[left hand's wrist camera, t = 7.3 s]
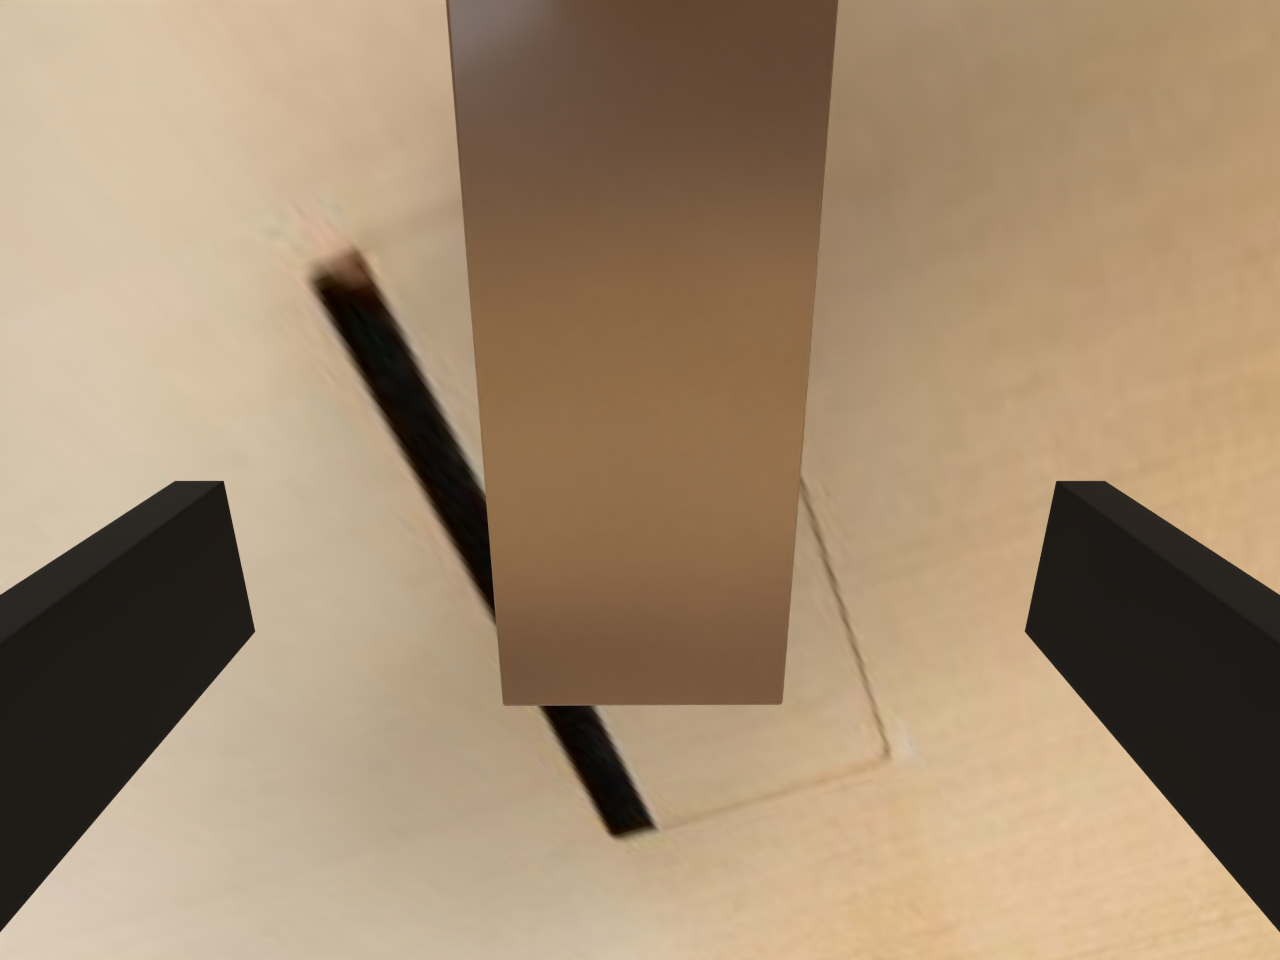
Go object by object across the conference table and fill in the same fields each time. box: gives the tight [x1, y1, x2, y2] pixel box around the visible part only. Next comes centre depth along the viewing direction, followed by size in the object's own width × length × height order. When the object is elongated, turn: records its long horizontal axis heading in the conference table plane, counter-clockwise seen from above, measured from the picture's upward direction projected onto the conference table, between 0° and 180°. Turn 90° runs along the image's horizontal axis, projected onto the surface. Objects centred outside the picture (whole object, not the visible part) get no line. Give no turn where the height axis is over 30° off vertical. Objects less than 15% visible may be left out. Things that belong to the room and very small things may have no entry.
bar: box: [446, 0, 838, 706], centre depth 15 cm, size 22×5×8 cm, turn 0°
